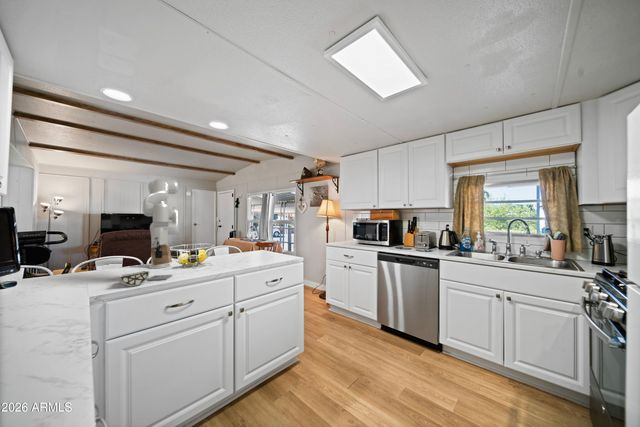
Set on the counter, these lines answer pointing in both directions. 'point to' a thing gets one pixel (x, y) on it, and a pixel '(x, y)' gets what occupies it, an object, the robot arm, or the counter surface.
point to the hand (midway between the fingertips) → (160, 257)
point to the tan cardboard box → (165, 255)
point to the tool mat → (159, 277)
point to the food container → (134, 278)
